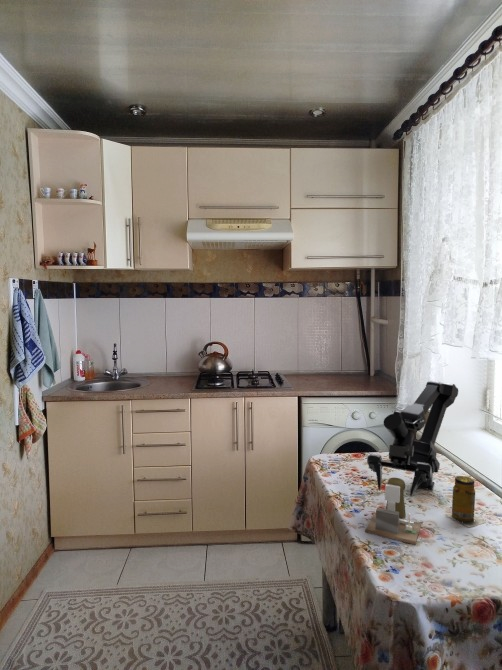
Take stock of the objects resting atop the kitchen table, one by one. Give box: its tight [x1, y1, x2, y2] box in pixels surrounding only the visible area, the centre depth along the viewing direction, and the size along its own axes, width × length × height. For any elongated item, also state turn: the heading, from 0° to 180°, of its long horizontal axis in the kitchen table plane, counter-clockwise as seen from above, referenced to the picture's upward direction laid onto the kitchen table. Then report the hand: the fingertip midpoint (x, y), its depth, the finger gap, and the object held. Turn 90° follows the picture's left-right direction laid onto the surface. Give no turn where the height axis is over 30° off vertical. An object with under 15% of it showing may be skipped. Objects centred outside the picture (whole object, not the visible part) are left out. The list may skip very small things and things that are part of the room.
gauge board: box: [364, 506, 422, 545], centre depth 129 cm, size 11×14×6 cm
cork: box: [385, 477, 407, 519], centre depth 137 cm, size 6×6×11 cm
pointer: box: [406, 513, 412, 531], centre depth 126 cm, size 1×2×5 cm, turn 62°
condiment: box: [444, 475, 486, 528], centre depth 134 cm, size 7×8×12 cm
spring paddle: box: [384, 483, 415, 526], centre depth 131 cm, size 2×8×10 cm, turn 62°
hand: (394, 492), depth 136 cm, fingers open, 9 cm apart
